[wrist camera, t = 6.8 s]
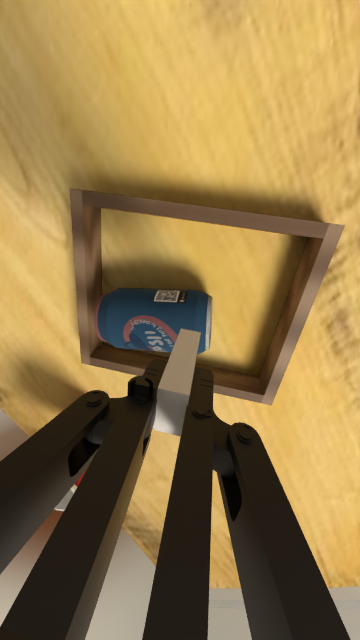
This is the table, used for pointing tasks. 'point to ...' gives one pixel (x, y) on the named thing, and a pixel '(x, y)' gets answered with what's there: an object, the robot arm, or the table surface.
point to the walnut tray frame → (313, 257)
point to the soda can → (152, 318)
